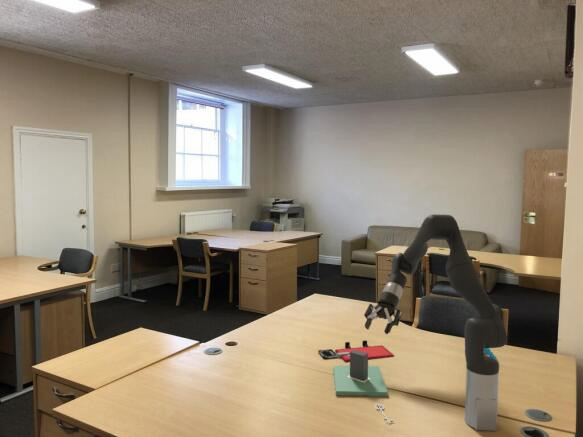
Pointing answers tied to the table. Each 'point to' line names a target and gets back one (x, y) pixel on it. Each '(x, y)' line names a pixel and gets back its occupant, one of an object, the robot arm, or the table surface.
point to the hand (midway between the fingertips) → (376, 330)
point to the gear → (489, 353)
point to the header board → (359, 382)
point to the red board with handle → (345, 353)
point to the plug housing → (359, 365)
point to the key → (381, 410)
